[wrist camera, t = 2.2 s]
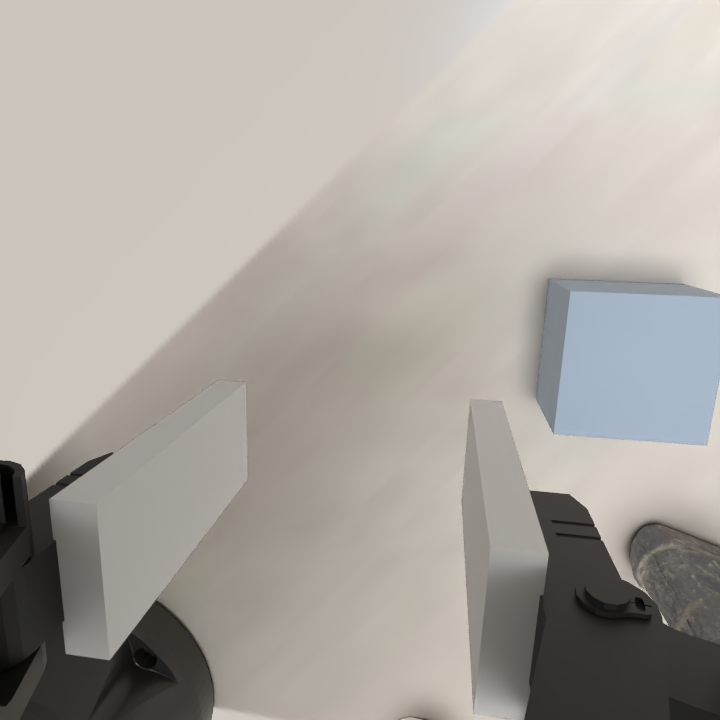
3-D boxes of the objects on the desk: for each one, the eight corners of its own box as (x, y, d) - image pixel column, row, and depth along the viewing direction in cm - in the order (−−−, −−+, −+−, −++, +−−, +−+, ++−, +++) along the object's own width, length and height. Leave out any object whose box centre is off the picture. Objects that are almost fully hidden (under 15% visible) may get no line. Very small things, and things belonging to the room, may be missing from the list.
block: (535, 398, 29) (553, 434, 24) (548, 278, 27) (570, 291, 22) (661, 406, 28) (706, 445, 23) (682, 283, 26) (734, 298, 22)
